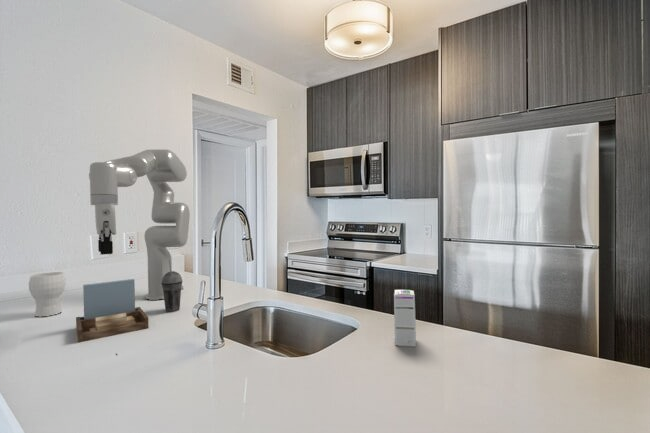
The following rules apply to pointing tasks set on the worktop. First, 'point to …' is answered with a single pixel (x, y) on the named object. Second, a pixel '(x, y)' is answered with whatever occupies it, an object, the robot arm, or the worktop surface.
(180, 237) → the robot arm
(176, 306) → the beverage cup
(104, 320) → the offcut top
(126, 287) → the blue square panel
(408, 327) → the syrup box
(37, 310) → the cup
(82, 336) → the rack
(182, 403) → the worktop surface
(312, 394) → the worktop surface
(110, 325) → the offcut middle
